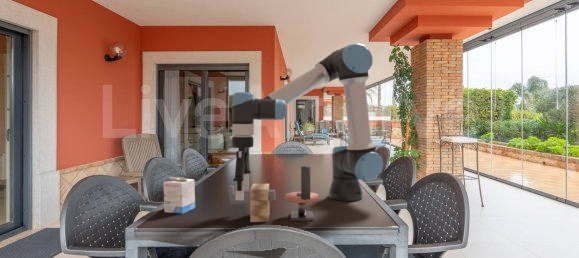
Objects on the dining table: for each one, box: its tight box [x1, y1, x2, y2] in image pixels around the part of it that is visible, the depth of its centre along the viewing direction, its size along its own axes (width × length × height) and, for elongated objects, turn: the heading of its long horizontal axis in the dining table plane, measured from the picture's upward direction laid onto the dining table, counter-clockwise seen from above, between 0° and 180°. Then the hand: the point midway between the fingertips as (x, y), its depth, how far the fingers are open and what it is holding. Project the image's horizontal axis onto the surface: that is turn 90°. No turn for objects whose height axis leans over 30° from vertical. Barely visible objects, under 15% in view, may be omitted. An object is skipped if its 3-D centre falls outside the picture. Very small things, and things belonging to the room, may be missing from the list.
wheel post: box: [290, 203, 315, 222], centre depth 117 cm, size 8×8×6 cm
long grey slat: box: [227, 184, 276, 206], centre depth 116 cm, size 16×3×6 cm, turn 90°
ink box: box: [163, 176, 196, 215], centre depth 126 cm, size 9×8×13 cm
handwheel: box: [284, 165, 320, 204], centre depth 116 cm, size 12×12×12 cm
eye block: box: [249, 183, 270, 223], centre depth 116 cm, size 6×10×11 cm, turn 1°
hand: (242, 195), depth 116 cm, fingers open, 13 cm apart
